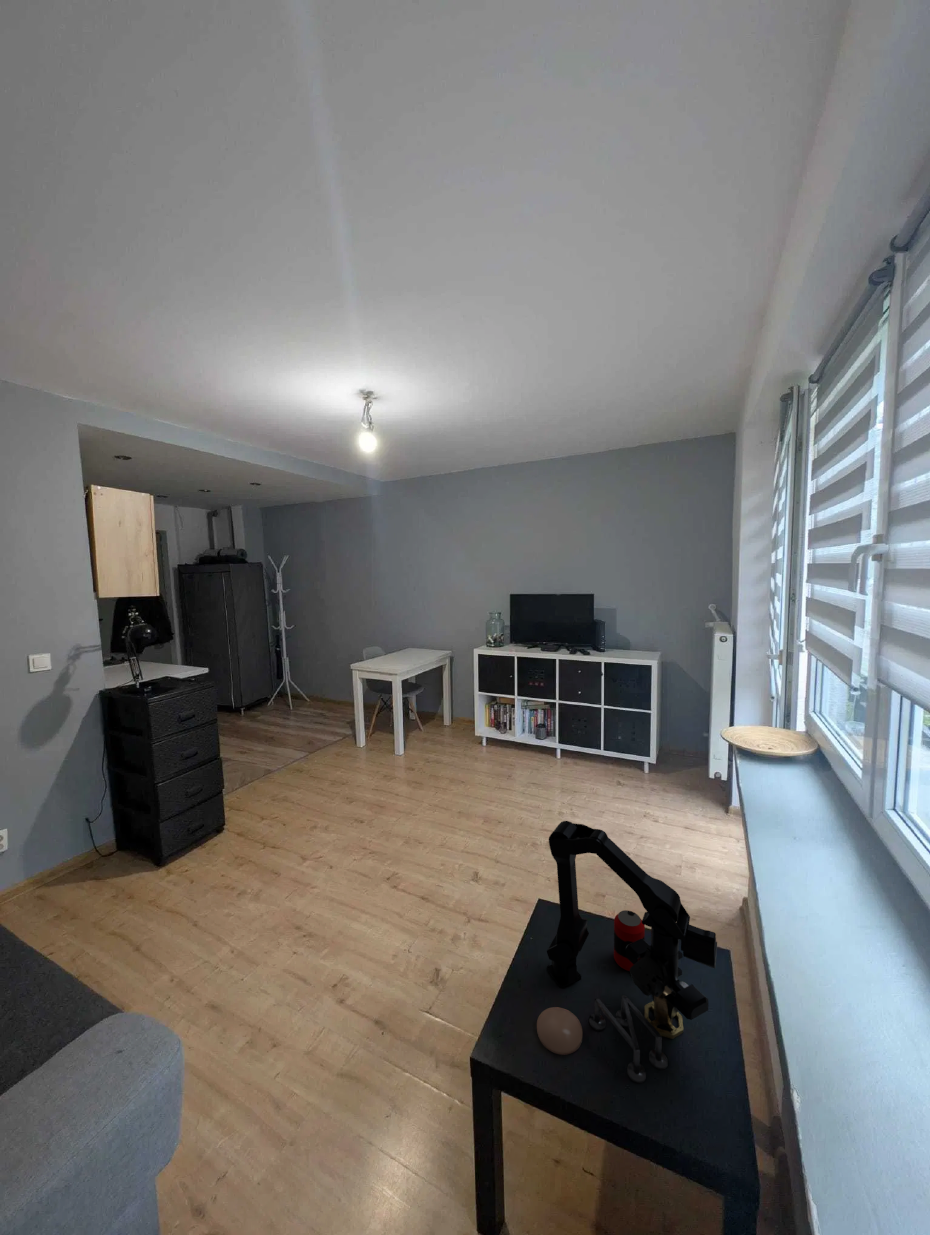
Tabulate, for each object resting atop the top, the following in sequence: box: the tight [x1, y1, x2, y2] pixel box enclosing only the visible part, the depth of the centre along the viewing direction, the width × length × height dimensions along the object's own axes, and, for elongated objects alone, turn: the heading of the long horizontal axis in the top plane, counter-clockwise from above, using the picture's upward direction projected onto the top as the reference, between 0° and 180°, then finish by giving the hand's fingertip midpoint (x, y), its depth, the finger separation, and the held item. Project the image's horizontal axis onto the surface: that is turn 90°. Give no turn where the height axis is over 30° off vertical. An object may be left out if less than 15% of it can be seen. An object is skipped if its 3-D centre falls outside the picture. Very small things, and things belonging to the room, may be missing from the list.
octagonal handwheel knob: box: [644, 986, 684, 1040], centre depth 106 cm, size 8×8×7 cm
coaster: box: [536, 1006, 583, 1056], centre depth 104 cm, size 10×10×1 cm
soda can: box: [613, 909, 646, 972], centre depth 122 cm, size 8×8×12 cm
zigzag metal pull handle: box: [588, 994, 669, 1084], centre depth 101 cm, size 16×10×6 cm, turn 24°
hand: (663, 1009), depth 106 cm, fingers open, 4 cm apart
